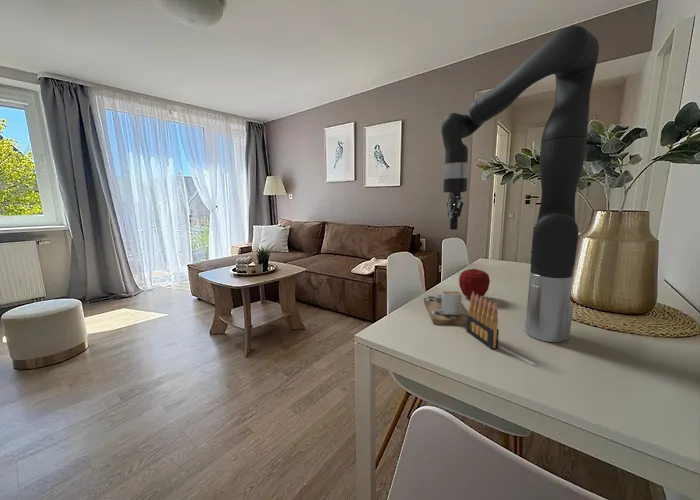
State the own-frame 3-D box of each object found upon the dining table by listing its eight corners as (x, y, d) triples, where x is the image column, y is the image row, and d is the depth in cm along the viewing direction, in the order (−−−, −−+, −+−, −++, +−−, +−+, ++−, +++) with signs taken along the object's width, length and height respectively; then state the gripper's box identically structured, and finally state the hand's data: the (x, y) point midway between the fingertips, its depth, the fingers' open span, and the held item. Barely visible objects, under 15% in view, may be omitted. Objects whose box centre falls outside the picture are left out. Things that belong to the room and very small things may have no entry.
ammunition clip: (498, 348, 73) (501, 303, 71) (491, 349, 72) (494, 303, 70) (471, 330, 83) (474, 290, 81) (466, 331, 82) (468, 290, 80)
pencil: (535, 366, 64) (480, 338, 78) (536, 369, 64) (481, 340, 78) (537, 363, 64) (482, 336, 78) (539, 366, 65) (483, 338, 78)
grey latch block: (457, 310, 92) (458, 290, 91) (460, 315, 89) (461, 294, 87) (433, 309, 93) (433, 290, 92) (435, 314, 89) (436, 294, 88)
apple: (459, 292, 117) (461, 264, 115) (488, 295, 112) (490, 266, 110) (456, 300, 107) (457, 270, 106) (488, 304, 103) (490, 272, 101)
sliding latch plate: (457, 302, 106) (457, 294, 105) (474, 325, 86) (474, 315, 86) (423, 301, 107) (424, 293, 107) (433, 324, 88) (433, 314, 87)
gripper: (473, 175, 90) (470, 231, 93) (461, 179, 103) (459, 227, 106) (448, 176, 91) (446, 231, 94) (440, 179, 104) (438, 227, 107)
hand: (453, 229), depth 100 cm, fingers closed
